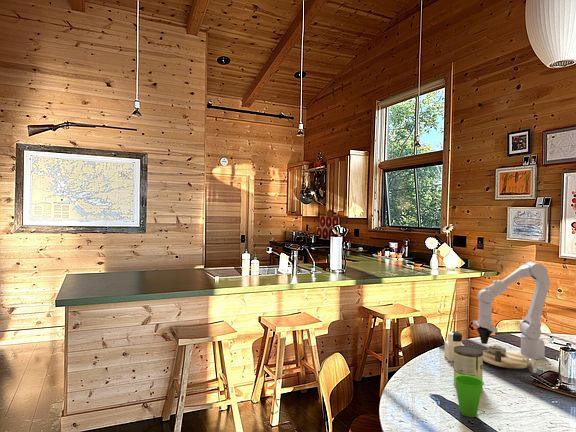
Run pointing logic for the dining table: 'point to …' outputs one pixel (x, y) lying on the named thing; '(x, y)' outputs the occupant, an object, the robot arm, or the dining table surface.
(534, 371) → the silver knobbed piece
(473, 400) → the cup
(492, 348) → the cover
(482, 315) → the robot arm
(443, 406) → the dining table surface
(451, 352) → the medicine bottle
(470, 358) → the coffee can
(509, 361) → the platter
